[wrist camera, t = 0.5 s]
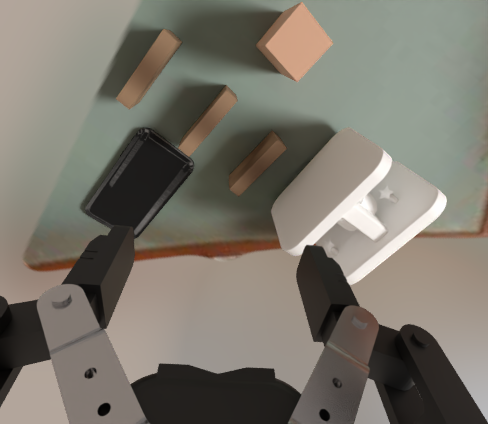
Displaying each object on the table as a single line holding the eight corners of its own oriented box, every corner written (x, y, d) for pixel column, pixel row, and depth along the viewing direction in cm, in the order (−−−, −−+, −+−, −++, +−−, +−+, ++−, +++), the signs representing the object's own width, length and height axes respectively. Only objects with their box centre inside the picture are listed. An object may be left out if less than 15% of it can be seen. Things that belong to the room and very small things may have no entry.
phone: (197, 165, 36) (134, 241, 41) (197, 162, 37) (136, 237, 42) (141, 124, 33) (81, 211, 38) (143, 121, 34) (84, 207, 39)
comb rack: (170, 30, 29) (163, 28, 26) (280, 138, 35) (286, 148, 32) (127, 92, 32) (115, 98, 28) (237, 182, 38) (238, 196, 35)
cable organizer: (346, 115, 35) (397, 144, 25) (398, 164, 38) (460, 207, 28) (267, 203, 40) (282, 256, 30) (319, 238, 44) (348, 296, 34)
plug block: (283, 12, 29) (301, 1, 22) (308, 43, 30) (333, 43, 24) (255, 45, 30) (265, 45, 23) (281, 73, 32) (297, 82, 25)
